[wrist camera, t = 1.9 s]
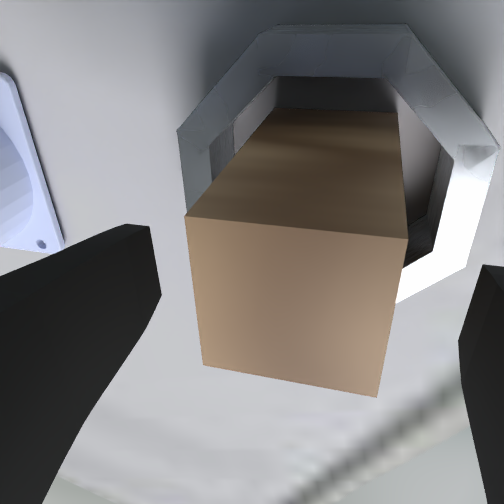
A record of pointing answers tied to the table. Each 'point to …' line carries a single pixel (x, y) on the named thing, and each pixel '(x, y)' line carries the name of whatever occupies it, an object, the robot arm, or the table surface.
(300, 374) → the peg
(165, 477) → the table surface
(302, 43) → the collar
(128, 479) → the table surface
